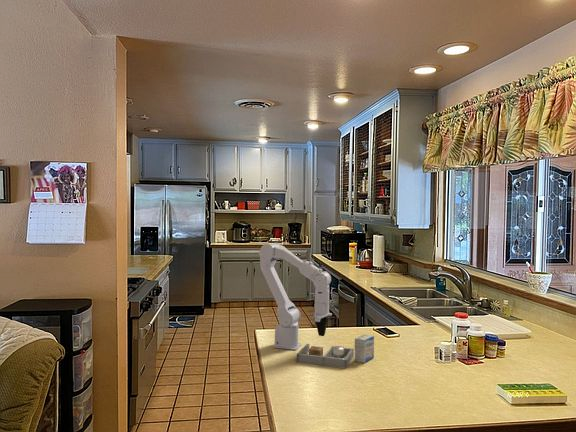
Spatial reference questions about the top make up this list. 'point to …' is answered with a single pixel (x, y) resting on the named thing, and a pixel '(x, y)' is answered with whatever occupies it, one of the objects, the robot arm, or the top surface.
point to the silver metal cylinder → (338, 352)
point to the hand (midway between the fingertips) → (321, 335)
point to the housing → (325, 357)
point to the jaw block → (316, 351)
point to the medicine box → (364, 348)
